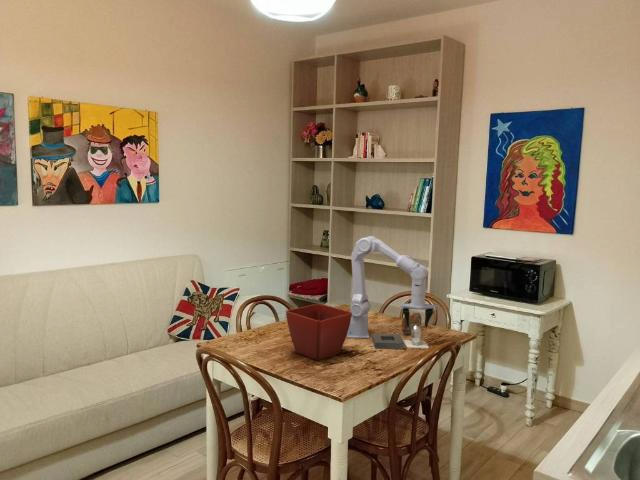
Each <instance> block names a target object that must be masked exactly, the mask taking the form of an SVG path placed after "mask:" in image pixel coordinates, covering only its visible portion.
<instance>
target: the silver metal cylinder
mask: <svg viewBox="0 0 640 480" xmlns="http://www.w3.org/2000/svg"><path fill="white" fill-rule="evenodd" d="M421 341H422V324H421V325H420V324H412V325H411V344H412V345H421Z"/></svg>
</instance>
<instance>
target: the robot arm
mask: <svg viewBox="0 0 640 480" xmlns="http://www.w3.org/2000/svg"><path fill="white" fill-rule="evenodd" d="M369 253H381V254H383V256H385V257H388V258H389V259H390V260H393V261H394V262H395V263H396V267H398V268H400V269H401V270H402V271H404V272H405V273H407V274H408V275H410V277H411V294H410V295H411V296H410V297H411V298H410V303H400V304H399V309H400V310H402V311H403V312H402V313H403V316H404V317H405V319H406V326H407V327H409V314H411V313H410V310H421V311H422V310H424V311H425V312H424V316H425V317H424V327H425V328H428V326H429V323H430V320H431V318H432V316H433V314H434V311H436V309H437V306H436V304H431V303H430V304H429V303H426V293H427V292H426V290H427V278H426V277H427V276H428V274H429V270H428V268H427V267H426V265H424V264H420V262H417V261H415V260H413V259H412V258H411V256H410V255H409V254H408V255H406V254H402V255H401V254H399V253H398V252H397V251H395V249H393V248H391V247H390V246H389V245H388V244H386V243H385V242H383V241H382V240H381V239H379V238H377V237H376V236H374V235H369V236H366V237H362V238H360V239H358V240H357V241H356V242H355V245H354V247H353V250H352V252H351V259H350V260H351V272H352V287H353V296H352V298H351V305H350V307H349V310H350V311H349V312H351V313H352V317H351V322H350V326H349V329H348V333H347V336H346V338H350V339H355V338H357V339H369V338H370V334H369V312H370V311H371V307H372V305H371V303H370V301H369V296H368V294H367V293H366V275H365V274H366V273H365V257H367V256H368V254H369Z"/></svg>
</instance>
